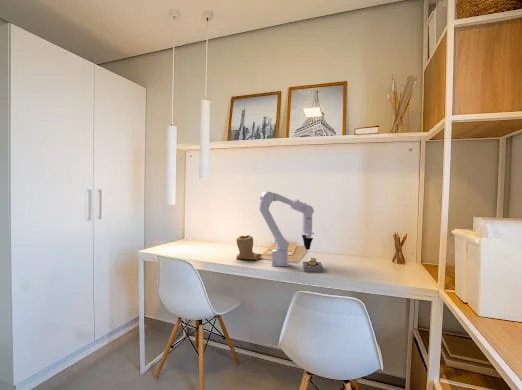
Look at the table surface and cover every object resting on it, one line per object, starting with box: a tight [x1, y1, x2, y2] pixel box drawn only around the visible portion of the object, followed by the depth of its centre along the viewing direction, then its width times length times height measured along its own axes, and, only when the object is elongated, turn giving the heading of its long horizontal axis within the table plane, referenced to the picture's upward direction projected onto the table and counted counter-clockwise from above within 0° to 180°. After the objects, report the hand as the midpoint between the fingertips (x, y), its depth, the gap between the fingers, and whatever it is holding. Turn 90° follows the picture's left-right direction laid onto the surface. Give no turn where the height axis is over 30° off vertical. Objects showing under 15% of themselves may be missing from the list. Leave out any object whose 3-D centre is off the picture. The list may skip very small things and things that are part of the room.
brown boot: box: [236, 234, 263, 260], centre depth 178 cm, size 15×12×15 cm
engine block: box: [302, 261, 324, 273], centre depth 156 cm, size 10×10×3 cm
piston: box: [307, 257, 318, 266], centre depth 156 cm, size 5×5×6 cm
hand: (306, 248), depth 168 cm, fingers open, 7 cm apart
